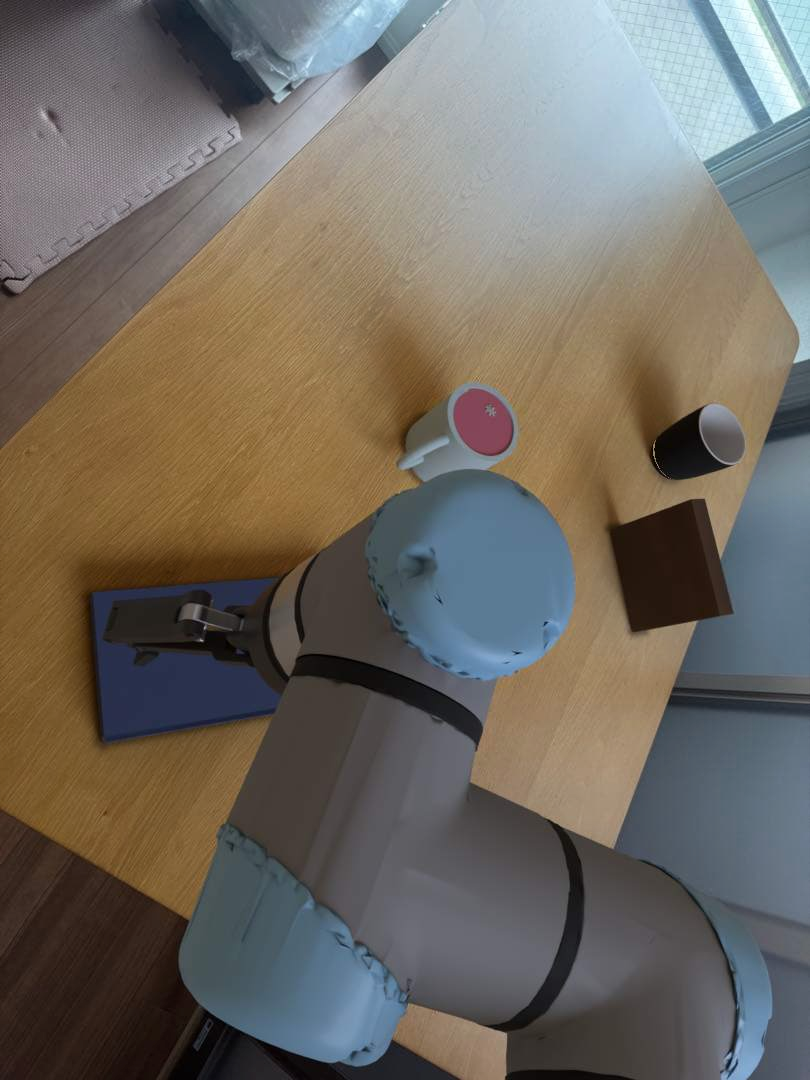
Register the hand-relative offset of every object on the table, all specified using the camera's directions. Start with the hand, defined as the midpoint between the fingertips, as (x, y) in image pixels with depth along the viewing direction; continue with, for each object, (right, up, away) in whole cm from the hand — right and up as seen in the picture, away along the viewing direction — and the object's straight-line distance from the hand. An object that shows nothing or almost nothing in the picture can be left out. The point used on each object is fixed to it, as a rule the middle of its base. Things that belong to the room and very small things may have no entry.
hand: (233, 668), depth 56 cm
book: (-4, -1, +15) cm, 16 cm away
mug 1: (+15, +20, +31) cm, 40 cm away
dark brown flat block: (+43, +5, +41) cm, 60 cm away
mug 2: (+52, +23, +52) cm, 77 cm away
